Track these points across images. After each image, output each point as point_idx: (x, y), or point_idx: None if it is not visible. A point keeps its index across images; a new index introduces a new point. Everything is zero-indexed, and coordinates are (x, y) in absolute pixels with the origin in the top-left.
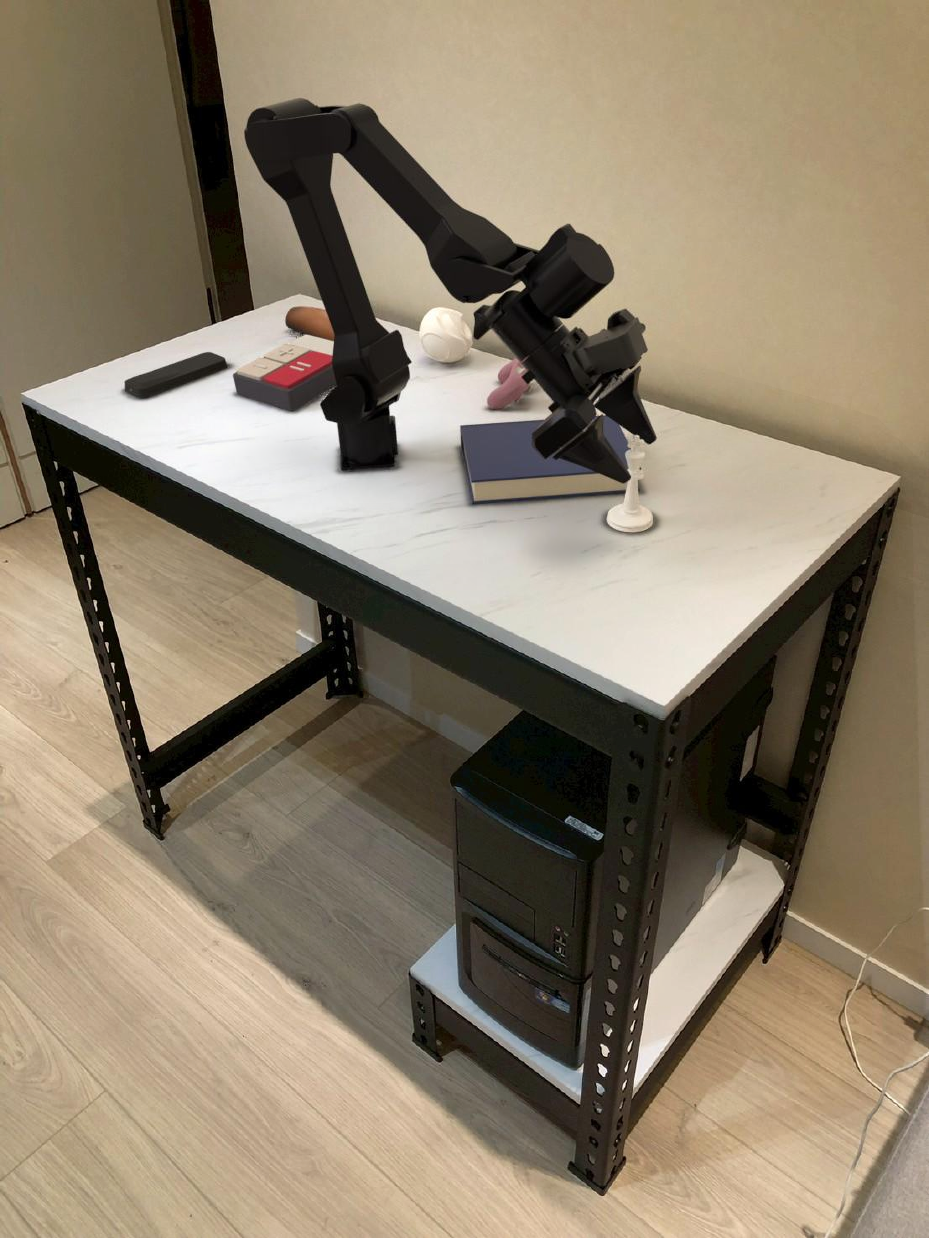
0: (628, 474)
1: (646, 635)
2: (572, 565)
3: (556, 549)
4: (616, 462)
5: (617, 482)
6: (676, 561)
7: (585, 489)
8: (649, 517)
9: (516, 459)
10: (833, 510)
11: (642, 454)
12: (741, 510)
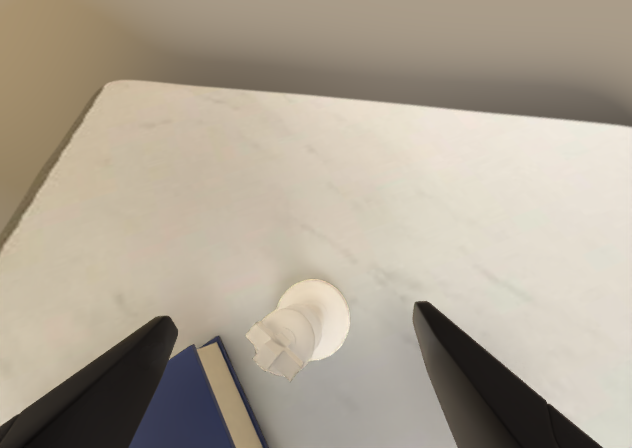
0: (431, 309)
1: (573, 190)
2: None
3: None
4: (497, 361)
5: (223, 381)
6: (386, 215)
7: (255, 441)
8: (309, 283)
9: None
10: (197, 104)
11: (286, 314)
12: (227, 185)
